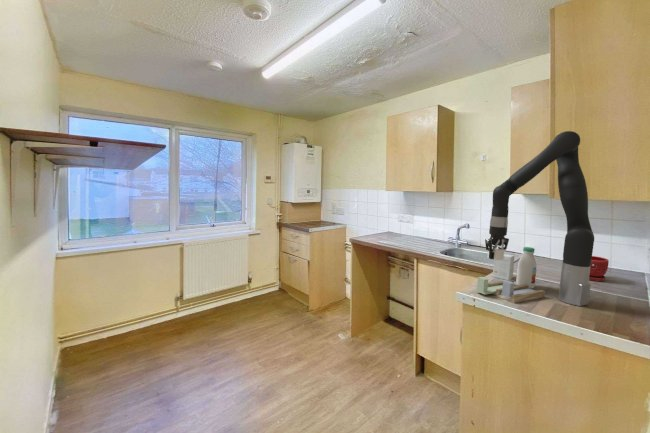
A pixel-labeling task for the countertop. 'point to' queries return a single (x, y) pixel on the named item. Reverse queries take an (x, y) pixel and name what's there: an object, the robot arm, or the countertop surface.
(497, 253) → the block
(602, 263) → the plant pot
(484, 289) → the pale green bracket
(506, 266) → the small box
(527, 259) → the milk bottle
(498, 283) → the lane board
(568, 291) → the robot arm
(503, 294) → the slat grey
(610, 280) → the countertop surface
